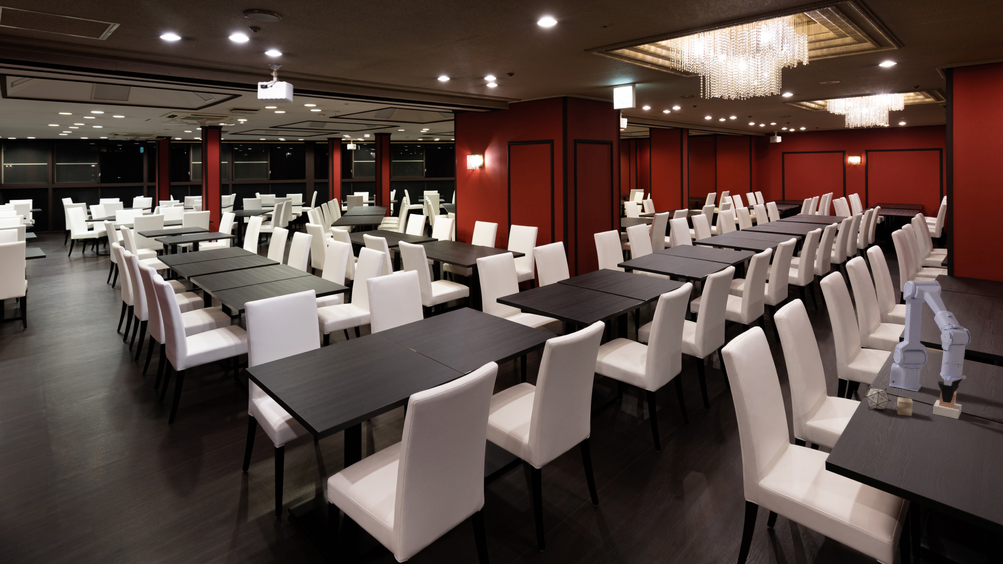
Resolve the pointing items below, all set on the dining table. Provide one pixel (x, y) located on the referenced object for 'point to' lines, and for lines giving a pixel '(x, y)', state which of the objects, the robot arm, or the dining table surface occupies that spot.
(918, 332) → the robot arm
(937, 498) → the dining table surface
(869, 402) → the game die
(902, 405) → the maple block
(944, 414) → the slab
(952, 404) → the terracotta block
